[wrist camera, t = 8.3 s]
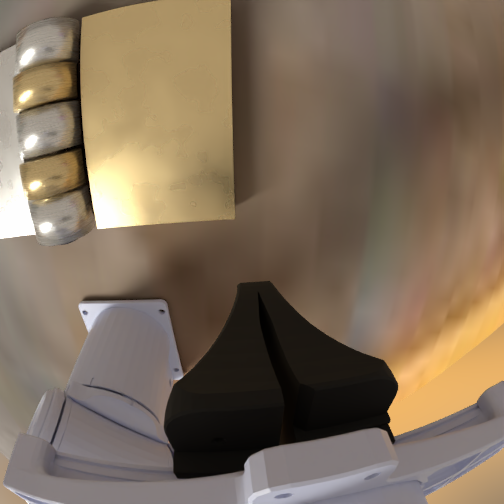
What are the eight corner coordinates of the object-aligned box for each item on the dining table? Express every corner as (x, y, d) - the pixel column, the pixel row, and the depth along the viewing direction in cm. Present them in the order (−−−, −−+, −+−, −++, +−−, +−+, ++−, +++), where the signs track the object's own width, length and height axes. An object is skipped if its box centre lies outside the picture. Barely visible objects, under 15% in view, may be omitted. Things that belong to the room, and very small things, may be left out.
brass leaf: (233, 208, 20) (237, 234, 16) (53, 223, 19) (25, 249, 15) (229, 4, 14) (232, -21, 10) (36, 43, 13) (2, 36, 9)
